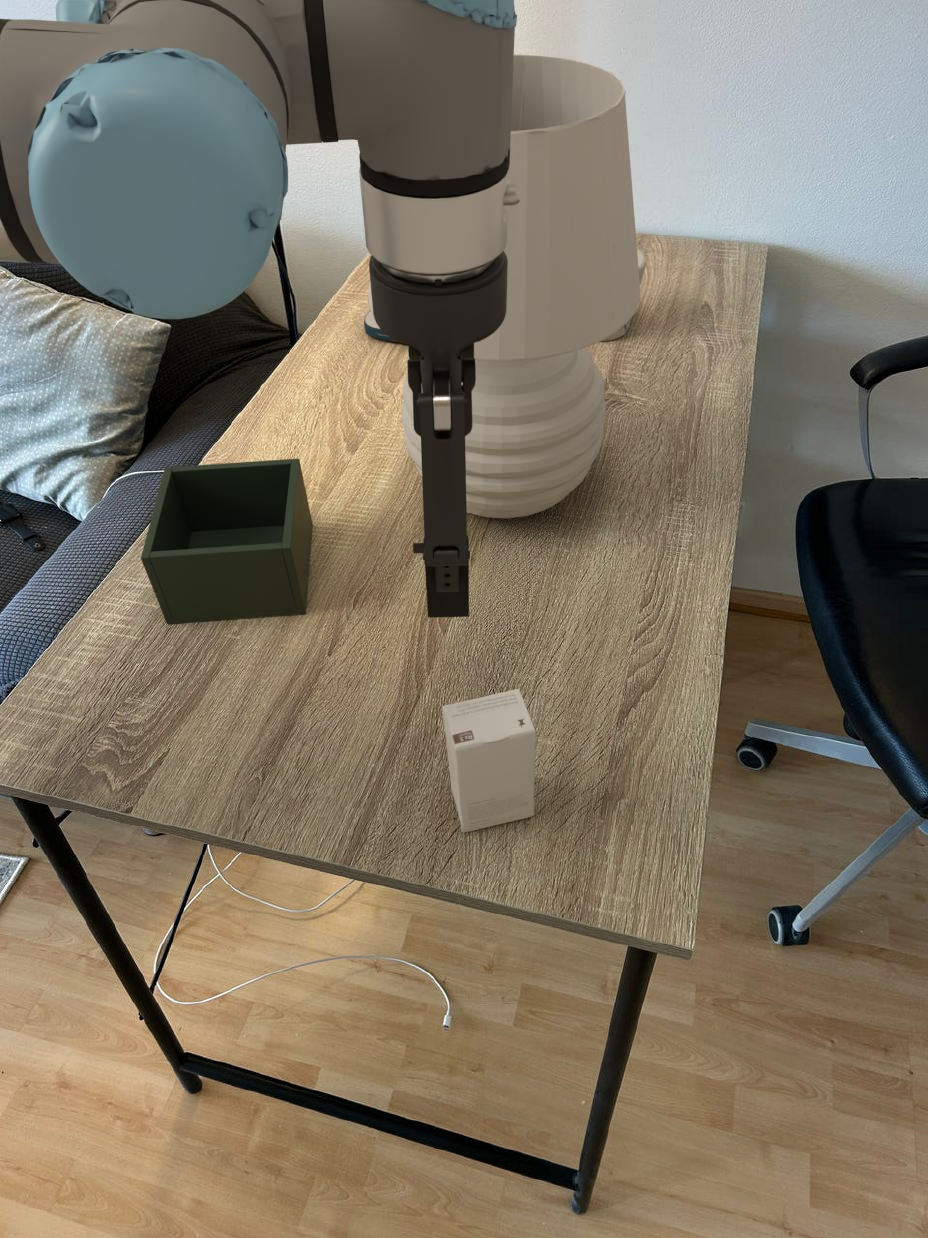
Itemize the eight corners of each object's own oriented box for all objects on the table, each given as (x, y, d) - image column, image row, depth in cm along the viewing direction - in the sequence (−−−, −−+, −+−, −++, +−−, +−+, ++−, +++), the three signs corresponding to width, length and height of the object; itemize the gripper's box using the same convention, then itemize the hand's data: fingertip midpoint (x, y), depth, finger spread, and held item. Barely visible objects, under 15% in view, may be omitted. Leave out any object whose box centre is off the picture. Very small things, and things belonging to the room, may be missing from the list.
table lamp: (566, 405, 111) (588, 31, 82) (655, 532, 95) (723, 117, 66) (368, 447, 107) (317, 65, 78) (425, 587, 90) (388, 167, 61)
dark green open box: (166, 624, 88) (140, 557, 81) (187, 533, 97) (164, 467, 91) (305, 614, 88) (290, 547, 82) (312, 524, 97) (299, 458, 91)
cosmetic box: (519, 774, 74) (522, 682, 65) (535, 821, 71) (540, 729, 62) (447, 791, 73) (440, 699, 65) (460, 839, 70) (454, 749, 62)
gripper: (523, 379, 40) (510, 679, 55) (496, 158, 56) (492, 436, 72) (354, 383, 40) (388, 682, 55) (377, 160, 56) (399, 438, 72)
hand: (447, 543), depth 64 cm, fingers open, 13 cm apart
